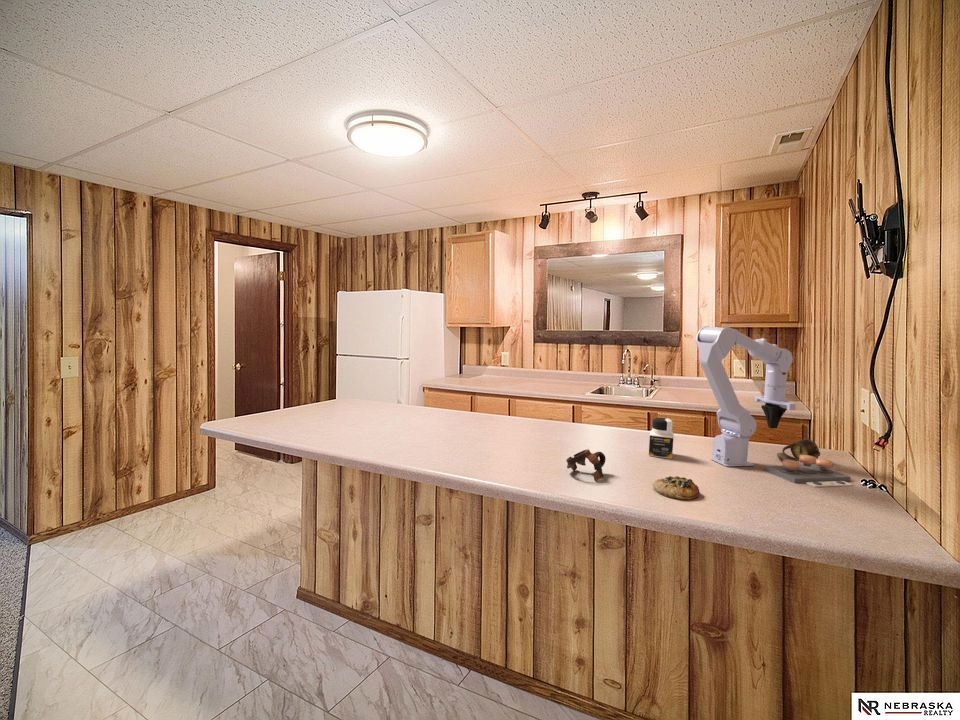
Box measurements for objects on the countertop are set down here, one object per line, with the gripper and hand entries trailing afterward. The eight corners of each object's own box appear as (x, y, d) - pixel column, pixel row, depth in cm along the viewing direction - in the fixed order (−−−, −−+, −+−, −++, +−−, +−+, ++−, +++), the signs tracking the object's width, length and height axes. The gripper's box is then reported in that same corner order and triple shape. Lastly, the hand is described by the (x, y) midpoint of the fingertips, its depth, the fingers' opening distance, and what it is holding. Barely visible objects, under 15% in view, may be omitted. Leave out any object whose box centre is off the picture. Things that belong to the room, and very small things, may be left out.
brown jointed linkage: (591, 486, 126) (576, 457, 128) (569, 490, 134) (556, 463, 135) (619, 467, 133) (605, 440, 134) (597, 473, 141) (584, 447, 142)
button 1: (789, 472, 135) (790, 463, 135) (778, 468, 139) (779, 459, 139) (801, 472, 136) (802, 463, 135) (790, 467, 140) (791, 459, 139)
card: (814, 487, 129) (814, 485, 128) (805, 483, 131) (805, 481, 131) (852, 485, 130) (852, 483, 130) (842, 481, 133) (842, 480, 133)
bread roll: (694, 486, 126) (695, 469, 125) (703, 508, 116) (704, 489, 115) (650, 484, 129) (650, 466, 128) (655, 504, 118) (655, 486, 117)
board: (794, 482, 131) (794, 477, 131) (764, 470, 142) (764, 465, 142) (850, 480, 134) (850, 475, 134) (816, 468, 145) (817, 463, 145)
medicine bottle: (648, 456, 154) (650, 419, 153) (649, 450, 160) (651, 415, 159) (672, 459, 151) (674, 422, 150) (672, 453, 158) (674, 417, 156)
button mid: (806, 467, 136) (807, 459, 136) (795, 463, 140) (796, 454, 139) (819, 467, 136) (819, 458, 136) (807, 463, 140) (808, 454, 140)
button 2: (823, 471, 137) (824, 462, 137) (811, 467, 141) (812, 458, 140) (835, 471, 137) (836, 462, 137) (823, 466, 141) (823, 458, 141)
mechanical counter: (831, 450, 147) (813, 435, 156) (789, 444, 147) (773, 430, 157) (823, 470, 149) (806, 455, 158) (782, 465, 150) (766, 449, 159)
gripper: (805, 389, 145) (802, 433, 146) (769, 382, 159) (766, 422, 160) (784, 389, 143) (781, 433, 145) (750, 382, 158) (747, 422, 159)
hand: (772, 427), depth 152 cm, fingers closed
